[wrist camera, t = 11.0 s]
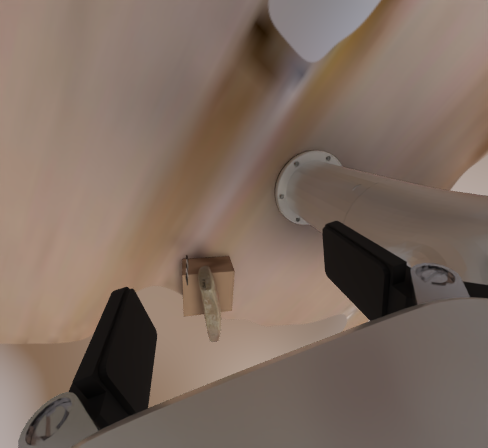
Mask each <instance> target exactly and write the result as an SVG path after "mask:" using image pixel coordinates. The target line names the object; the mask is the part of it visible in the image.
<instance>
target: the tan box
mask: <svg viewBox="0 0 488 448" xmlns="http://www.w3.org/2000/svg"><path fill="white" fill-rule="evenodd" d="M203 266H209V268H210V270H211V272H212V275H213V278H214V281H215V284H216V287H217V290H218V293H219V298H220V307H221V312H225V311H232V301H233V287H234V272H235V271H234V268H233V266H232V263H231V260H230V257H229V256H225V257H208V258H192V259H188V285H187V283H186V259H182V280H183V309H184V310H183V311H184V316H192V315H201V314H204V309H203V304H202V297H201V291H200V287H199V279H198V272H199V269H200V268H201V267H203Z"/></svg>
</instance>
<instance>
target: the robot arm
mask: <svg viewBox="0 0 488 448" xmlns="http://www.w3.org/2000/svg"><path fill="white" fill-rule="evenodd" d="M294 163H295V165H294ZM280 194H281V196H279V195H280ZM275 199H276V204H277V206H278V209H279V210H280V212H281V213H282V215H283V216H285V217H286V218H287V219H288V220H290V221H291V222H293V223H295V224H300V225H311V226H313V227H314V228H315V229H317V230H318V231H319V232H321V233H322V234H323V247H324V262H325V272H326V275H327V276H328V278H329V279H330V280H331V281H332V282H333V283H334V284H335V285H336V286H337V287H338V288H339V289H340V290H341V291H342V292H343V293H344V294H345V295H346V296H347V297H348V298H349V299H350V300H351V301H352V302H353V303H354V304H355V306H356V307H357V308H358V309H359V310H360V311H361V312H362V313H363V314H364V315H365V316H366V317H367V318H368V319H369V320H370V321H369V322H367V323H364V324H361V325H359V326H356V327H353V328H351V329H348V330H346V331H343V332H340V333H338V334H335V335H333V336H330V337H327V338H325V339H322V340H320V341H317V342H314V343H312V344H309V345H307V346H304V347H301V348H299V349H297V350H294V351H291V352H289V353H286V354H283V355H281V356H278V357H276V358H273V359H271V360H268V361H265V362H263V363H260V364H258V365H255V366H253V367H250V368H248V369H245V370H242V371H240V372H237V373H235V374H232V375H230V376H227V377H225V378H222V379H220V380H217V381H215V382H212V383H210V384H207V385H205V386H202V387H200V388H197V389H195V390H192V391H190V392H187V393H184V394H182V395H180V396H177V397H174V398H172V399H170V400H167V401H165V402H162V403H160V404H158V405H155V406H153V407H150V408H148V403H149V396H150V388H151V379H152V372H153V365H154V357H155V349H156V341H157V333H156V329H155V327H154V326H153V324H152V322H151V320H150V318H149V316H148V314H147V312H146V311H145V309H144V307H143V305H142V303H141V302H140V300H139V298H138V296H137V294H136V292H135V291H134V289H129V288H128V287H125V288H121V289H118V290H115V291H113V292H112V293H111V296H110V298H109V300H108V303H107V305H106V307H105V309H104V312H103V314H102V316H101V319H100V321H99V323H98V325H97V328H96V330H95V332H94V334H93V337H92V339H91V341H90V344H89V346H88V348H87V351H86V353H85V355H84V357H83V359H82V362H81V364H80V366H79V369H78V371H77V373H76V375H75V378H74V380H73V383H72V385H71V387H70V390H69V392H66V393H62V394H59V395H58V396H56V397H54V398H52V399H50V400H49V401H48V402H47V403H45V404H44V405H43V406H42V407H41V408H40V409H39V410H37V411H36V412H35V413H34V415H33V416H32V417H31V418H30V420H29V421H28V422H27V424H26V425H25V427H24V429H23V431H22V432H21V435H20V438H19V441H18V444H19V445H18V446H19V447H18V448H488V196H485V195H477V194H470V193H463V192H455V191H449V190H444V189H439V188H433V187H428V186H423V185H419V184H414V183H410V182H406V181H402V180H396V179H392V178H388V177H384V176H380V175H375V174H371V173H367V172H363V171H359V170H355V169H350V168H346V167H342V165H341V163H340V162H339V160H338V159H337V158H336V157H335V156H333V155H332V154H330V153H327V152H324V151H317V150H312V151H306V152H304V153H301V154H299V155H297V156H296V157H294V158H293V159H291V160H290V161H289V162H288V163H287V164H286V165H285V167H284V168H283V169H282V171H281V173H280V175H279V177H278V180H277V183H276V188H275Z"/></svg>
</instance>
